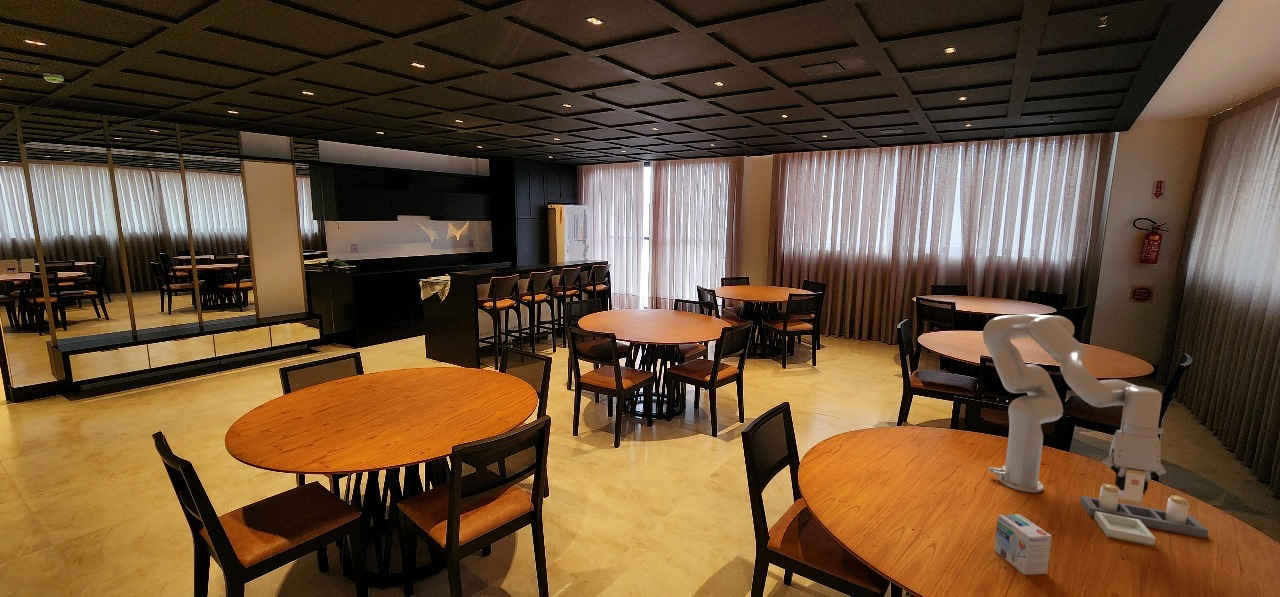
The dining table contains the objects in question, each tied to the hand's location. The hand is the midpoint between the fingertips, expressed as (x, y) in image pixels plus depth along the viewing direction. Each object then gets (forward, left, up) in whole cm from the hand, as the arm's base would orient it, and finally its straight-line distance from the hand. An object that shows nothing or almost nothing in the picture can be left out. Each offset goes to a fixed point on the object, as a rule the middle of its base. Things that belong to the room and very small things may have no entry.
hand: (1130, 489), depth 151 cm
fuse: (0, 0, -3) cm, 3 cm away
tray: (0, 0, -13) cm, 13 cm away
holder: (+7, +11, -13) cm, 19 cm away
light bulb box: (-31, -30, -14) cm, 46 cm away
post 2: (+15, +11, -14) cm, 23 cm away
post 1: (-1, +11, -14) cm, 18 cm away
